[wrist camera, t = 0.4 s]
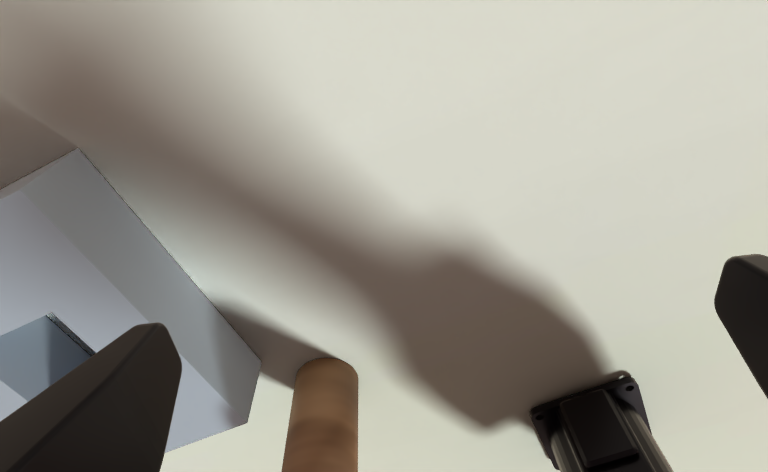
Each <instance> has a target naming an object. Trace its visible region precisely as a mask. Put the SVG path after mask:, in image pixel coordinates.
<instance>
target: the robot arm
mask: <svg viewBox="0 0 768 472" xmlns="http://www.w3.org/2000/svg"><path fill="white" fill-rule="evenodd" d="M714 304H715V309H716V312H717V314H718V316H719V318H720V320H721V321H722V323H723V325H724V326H725V328H726V330H727V332H728V333H729V335H730V337H731V338H732V340H733V342H734V343H735V345H736V347H737V349H738V350H739V352H740V354H741V355H742V357H743V359H744V360H745V362H746V364H747V365H748V367H749V369H750V371H751V372H752V374H753V376H754V377H755V379H756V381H757V382H758V384H759V386H760V387H761V389H762V390H763V392H764V394H765V395H766V397H767V398H768V257H767V256H764V255H760V254H751V255H742V256H734V257H731V258H729V259H728V260H727V261H726V262H725V264H724V267H723V270H722V274H721V277H720V281H719V284H718V288H717V291H716V295H715V299H714ZM181 374H182V362H181V358H180V356H179V353H178V351H177V349H176V347H175V345H174V342H173V340H172V338H171V336H170V334H169V331H168V329H167V328H166V326H165V325H164V324H162V323H159V322H156V323H147V324H139V325H136V326H134V327H132V328H131V329H129V330H128V331H126V332H125V333H124V334H122V335H121V336H119V337H118V338H117V339H115V340H114V341H112V342H111V343H110V344H108V345H107V346H105V347H104V348H103V349H101V350H100V351H98V352H97V353H96V354H94V355H93V356H91V357H90V358H89V359H87V360H86V361H84V362H83V363H82V364H80V365H79V366H77V367H76V368H75V369H73V370H72V371H70V372H69V373H68V374H66V375H65V376H63V377H62V378H61V379H59V380H58V381H56V382H55V383H54V384H52V385H51V386H49V387H48V388H47V389H45V390H44V391H42V392H41V393H40V394H38V395H37V396H35V397H34V398H33V399H31V400H30V401H28V402H27V403H26V404H24V405H23V406H21V407H20V408H18V409H17V410H16V411H14V412H13V413H11V414H10V415H9V416H7V417H6V418H4V419H3V420H2V421H0V472H159V471H160V468H161V465H162V461H163V457H164V453H165V449H166V445H167V440H168V436H169V431H170V426H171V421H172V417H173V412H174V407H175V403H176V398H177V393H178V389H179V384H180V379H181ZM530 416H531V419H532V421H533V424H534V426H535V428H536V430H537V432H538V434H539V436H540V438H541V440H542V442H543V445H544V447H545V449H546V451H547V453H548V455H549V457H550V459H551V461H552V463H553V466H554V468H555V469H557V470H560V471H561V472H673V470H672V468H671V467H670V465H669V463H668V462H667V460H666V458H665V456H664V455H663V453H662V451H661V450H660V448H659V446H658V445H657V443H656V441H655V440H654V438H653V436H652V433H651V430H650V426H649V422H648V419H647V415H646V412H645V408H644V404H643V401H642V397H641V393H640V390H639V386H638V384H637V383H636V381H635V380H634V378H632V377H627V378H623V379H620V380H617V381H614V382H611V383H608V384H605V385H602V386H599V387H596V388H593V389H589V390H586V391H583V392H580V393H577V394H574V395H571V396H568V397H565V398H562V399H559V400H556V401H553V402H550V403H547V404H544V405H541V406H538V407H535V408H533V409H532V410H531V411H530Z"/></svg>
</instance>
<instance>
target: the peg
mask: <svg viewBox="0 0 768 472" xmlns="http://www.w3.org/2000/svg"><path fill="white" fill-rule="evenodd" d="M282 472H358V375H357V373H356V371H355V370H354V368H353V367H352V366H350V365H349V364H348V363H346V362H344V361H341V360H338V359H334V358H319V359H315V360H312V361H310V362H308V363H306V364H304V365H303V366H302V367H301V368H300V369H299V371H298V372H297V375H296V380H295V387H294V393H293V400H292V407H291V413H290V420H289V426H288V433H287V440H286V446H285V453H284V459H283V466H282Z"/></svg>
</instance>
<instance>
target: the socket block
mask: <svg viewBox="0 0 768 472" xmlns="http://www.w3.org/2000/svg"><path fill="white" fill-rule="evenodd" d="M49 313H53V314H54V315H55V316H56V317H57V318H58V319H59V320H61V321H62V322H63V323H64V324H65V325H66V326H67V327H68V328H69V329H70V330H72V331H73V332H74V333H75V334H76V335H77V336H78V337H79V338H80V339H81V340H83V341H84V342H85V343H86V344H87V345H88V346H89V347H90V348H91V349H92V350H94V351H95V352H96V353H97V352H98V351H100V350H101V349H103V348H104V347H105V346H107V345H108V344H110V343H111V342H112V341H114V340H115V339H117V338H118V337H119V336H121V335H122V334H124V333H125V332H126V331H128V330H129V329H131V328H132V327H134V326H136V325H139V324H147V323H156V322H159V323H162V324H164V325H165V326H166V328H167V329H168V331H169V334H170V336H171V338H172V340H173V342H174V345H175V347H176V349H177V351H178V353H179V356H180V358H181V362H182V374H181V379H180V384H179V389H178V393H177V398H176V403H175V407H174V412H173V417H172V421H171V426H170V431H169V436H168V440H167V445H166V449H165V453H166V452H169V451H171V450H174V449H177V448H180V447H182V446H185V445H188V444H191V443H193V442H196V441H199V440H202V439H204V438H207V437H210V436H213V435H215V434H218V433H221V432H224V431H226V430H229V429H232V428H235V427H237V426H240V425H243V424H246V423H247V422H248V418H249V413H250V409H251V405H252V401H253V397H254V392H255V388H256V384H257V380H258V376H259V372H260V367H261V363H262V362H261V361H260V359H259V358H258V357H257V356H256V355H255V354H254V352H253V351H252V350H251V349H250V348H249V347H248V345H247V344H246V343H245V342H244V341H243V340H242V338H241V337H240V336H239V335H238V334H237V333H236V331H235V330H234V329H233V328H232V327H231V326H230V324H229V323H228V322H227V321H226V320H225V319H224V317H223V316H222V315H221V314H220V313H219V312H218V310H217V309H216V308H215V307H214V306H213V305H212V303H211V302H210V301H209V300H208V299H207V298H206V296H205V295H204V294H203V293H202V292H201V291H200V289H199V288H198V287H197V286H196V285H195V284H194V282H193V281H192V280H191V279H190V278H189V277H188V275H187V274H186V273H185V272H184V271H183V270H182V268H181V267H180V266H179V265H178V264H177V263H176V261H175V260H174V259H173V258H172V257H171V256H170V254H169V253H168V252H167V251H166V250H165V249H164V247H163V246H162V245H161V244H160V243H159V242H158V240H157V239H156V238H155V237H154V236H153V235H152V233H151V232H150V231H149V230H148V229H147V228H146V226H145V225H144V224H143V223H142V222H141V221H140V219H139V218H138V217H137V216H136V215H135V214H134V212H133V211H132V210H131V209H130V208H129V207H128V205H127V204H126V203H125V202H124V201H123V200H122V198H121V197H120V196H119V195H118V194H117V193H116V191H115V190H114V189H113V188H112V187H111V186H110V184H109V183H108V182H107V181H106V180H105V179H104V177H103V176H102V175H101V174H100V173H99V172H98V170H97V169H96V168H95V167H94V166H93V165H92V163H91V162H90V161H89V160H88V159H87V158H86V156H85V155H84V154H83V153H82V152H81V151H80V149H79V148H77V149H75V150H73V151H72V152H70V153H68V154H66V155H64V156H62V157H60V158H58V159H57V160H55V161H53V162H51V163H49V164H47V165H45V166H43V167H42V168H40V169H38V170H36V171H34V172H32V173H30V174H28V175H27V176H25V177H23V178H21V179H19V180H17V181H15V182H13V183H11V184H10V185H8V186H6V187H4V188H2V189H0V421H2V420H3V419H4V418H6V417H7V416H9V415H10V414H11V413H13V412H14V411H16V410H17V409H18V408H20V407H21V406H23V405H24V404H26V403H27V402H28V401H30V400H31V399H33V398H34V397H35V396H37V395H38V394H40V393H41V392H42V391H44V390H45V389H47V388H48V387H49V386H51V385H52V384H54V383H55V382H56V381H58V380H59V379H61V378H62V377H63V376H65V375H66V374H68V373H69V372H70V371H72V370H73V369H75V368H76V367H77V366H79V365H80V364H82V363H83V362H84V361H86V360H87V359H89V358H90V357H91V356H90V355H89V354H88V353H87V352H85V351H84V350H83V349H82V348H81V347H80V346H79V345H78V344H76V343H75V342H74V341H73V340H72V339H71V338H70V337H69V336H68V335H66V334H65V333H64V332H63V331H62V330H61V329H60V328H59V327H58V326H56V325H55V324H54V323H53V322H52V321H51V320H50V319H49V318H47V317H46V316H45V315H47V314H49Z"/></svg>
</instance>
